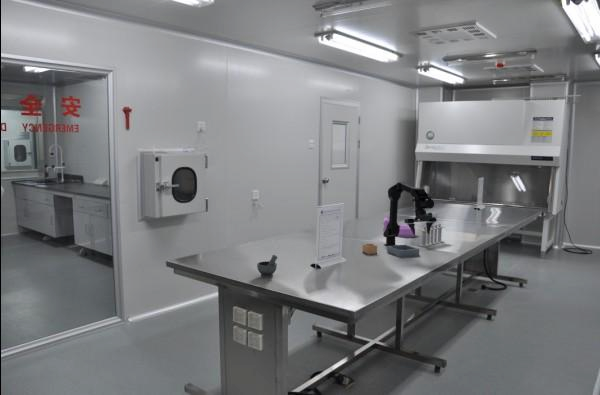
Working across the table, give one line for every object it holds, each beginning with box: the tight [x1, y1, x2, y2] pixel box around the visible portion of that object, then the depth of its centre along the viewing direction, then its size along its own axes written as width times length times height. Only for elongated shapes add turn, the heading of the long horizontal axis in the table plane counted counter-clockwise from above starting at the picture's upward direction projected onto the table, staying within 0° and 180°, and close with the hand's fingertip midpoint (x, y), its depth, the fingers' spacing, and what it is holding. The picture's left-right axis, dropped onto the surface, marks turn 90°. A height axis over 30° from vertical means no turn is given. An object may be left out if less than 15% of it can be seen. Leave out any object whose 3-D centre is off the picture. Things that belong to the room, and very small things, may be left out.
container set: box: [382, 215, 416, 238], centre depth 352 cm, size 25×15×13 cm, turn 57°
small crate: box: [362, 243, 378, 255], centre depth 291 cm, size 6×6×5 cm
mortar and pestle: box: [256, 254, 278, 279], centre depth 235 cm, size 11×9×12 cm
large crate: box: [386, 244, 420, 258], centre depth 289 cm, size 14×14×4 cm
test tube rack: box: [418, 223, 446, 248], centre depth 318 cm, size 25×4×13 cm, turn 132°
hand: (421, 234), depth 282 cm, fingers open, 9 cm apart
